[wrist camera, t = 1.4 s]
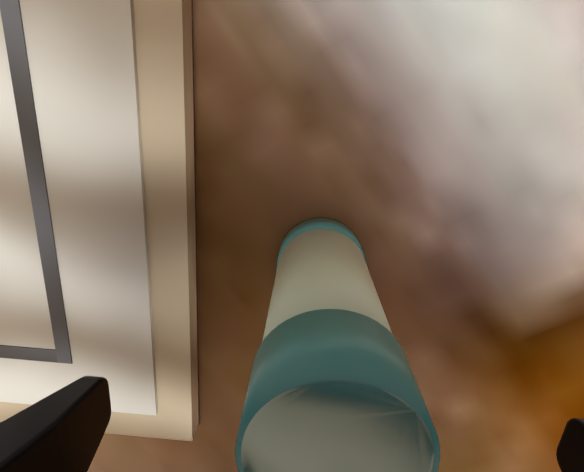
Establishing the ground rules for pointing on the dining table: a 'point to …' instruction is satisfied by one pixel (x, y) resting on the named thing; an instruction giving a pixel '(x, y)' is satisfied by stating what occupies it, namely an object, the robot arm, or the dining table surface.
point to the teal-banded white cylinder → (331, 370)
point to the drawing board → (99, 208)
